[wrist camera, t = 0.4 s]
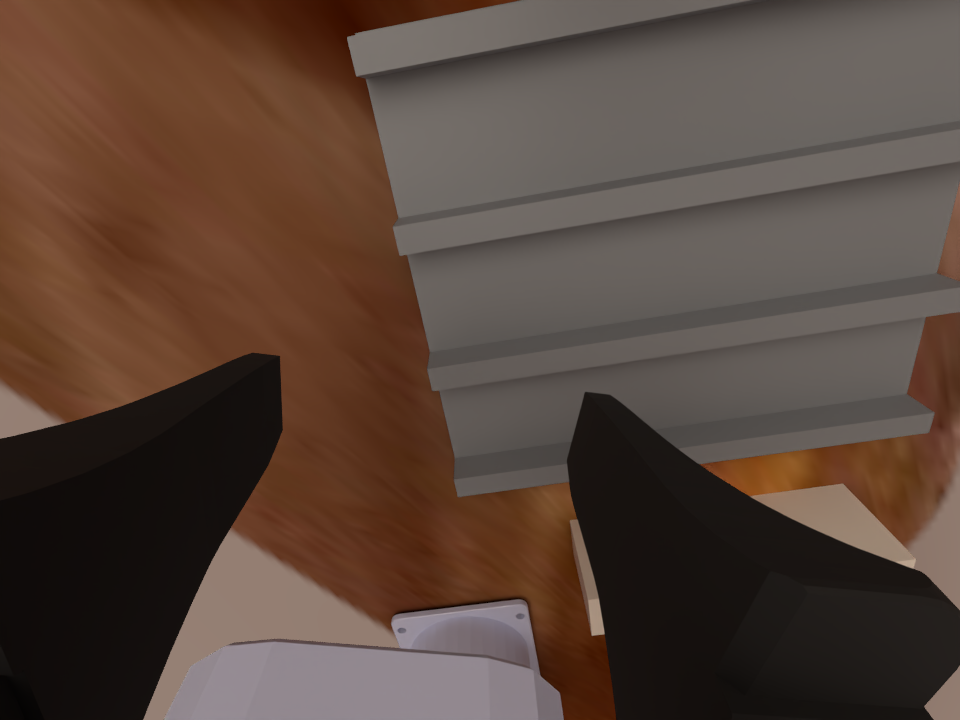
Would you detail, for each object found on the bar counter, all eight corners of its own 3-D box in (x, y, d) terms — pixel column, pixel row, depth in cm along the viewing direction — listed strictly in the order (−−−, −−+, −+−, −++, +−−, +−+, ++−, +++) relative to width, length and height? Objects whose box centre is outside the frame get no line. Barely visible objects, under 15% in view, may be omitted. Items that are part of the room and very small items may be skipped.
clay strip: (840, 481, 26) (916, 559, 22) (833, 517, 27) (903, 598, 23) (569, 517, 27) (587, 599, 23) (573, 551, 28) (591, 635, 24)
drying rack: (881, 403, 24) (927, 437, 21) (460, 462, 25) (459, 501, 23) (991, -87, 16) (1085, -121, 13) (362, 37, 17) (344, 27, 15)
